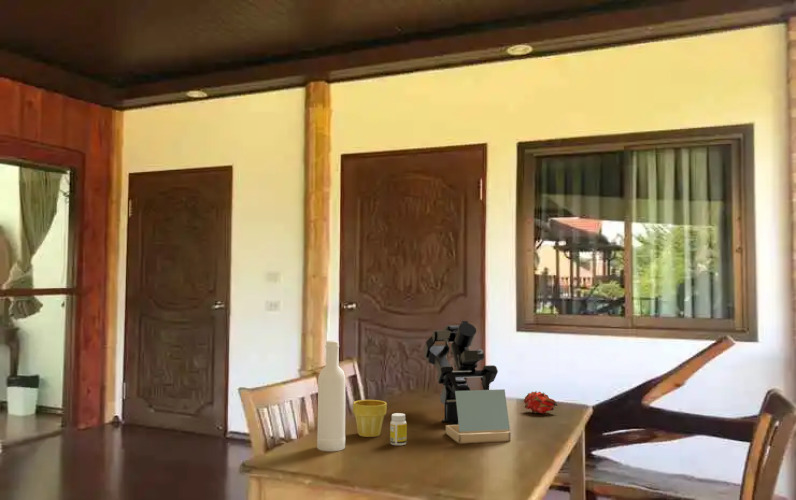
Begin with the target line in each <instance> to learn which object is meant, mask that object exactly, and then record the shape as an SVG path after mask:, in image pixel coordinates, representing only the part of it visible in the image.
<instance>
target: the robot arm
mask: <svg viewBox="0 0 796 500" xmlns="http://www.w3.org/2000/svg"><path fill="white" fill-rule="evenodd" d="M476 334H477V328H476V327H475V326H474V325H473V324H471V323H469V321H468V320H461V323H460V324H459V325H458V324H454V325H453V324H452V325H450V324H447V325H445V327H444V328H443V329H440V330H437V329H436V330H433V331H432V334H431V336H430V337H429V338H428V339H427V340H426V341H425V344H424V349H423V356H424V358H425V360H426V361H427V363H429V364H431V365H433V366H434V367H435V368H436V370H437V376H436V377H437V379H436V380H437V382H438V384H441V385H442V386H443V388H442V390H441V393H440V395H439V396H440V397H439V398H440V403H441V404H443V405H444V412H443V413H444V416H443V417H444V419H441V420H440V421H441V422H443V423H448V424H449V423H450V424H452V425H459V424H458V414H457V404H456V395H455V391H471V388H470V385H468V383H467V380H466V379H467V378H480V380H481V386H482V390H490V385H491V383H493V382H494V381H495V379H496V376H497V375H498V373H499V371H498V368H497V366H496V365H490V364H489V365H483V367H482V369H481V370H479V369H478V370H476V368H478V362H480V361H483V360H484V359H485V353H484V350H483V348H482V349H481V348H479V349H476V350H470V347H471V346H472V344H473V341H474V340H475V336H476ZM436 342H444V343H445V344H436ZM449 343H451V344H450V346H449ZM450 348H451V349H450ZM449 352H450V354H451V355H452V358H453V361H454V366H451V363H450V362H449V360H448V356H449ZM453 367H454V368H456V369H455V370H454V368H453Z"/></svg>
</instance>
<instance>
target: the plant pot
mask: <svg viewBox="0 0 796 500" xmlns="http://www.w3.org/2000/svg"><path fill="white" fill-rule="evenodd" d="M387 405H388V403H387V402H386V401H384V400H379V399H378V400H377V399H359V400H356V401H355V400H354V401H353V404H352V414H353V415H354V417H355V423H356V429H357V433H358V436H360V437H365V438H366V437H367V438H375V437H379V436H380V435H381V431H382V427H383V422H384V418H385V416H386V414H387V408H388V407H387Z"/></svg>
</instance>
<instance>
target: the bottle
mask: <svg viewBox="0 0 796 500" xmlns="http://www.w3.org/2000/svg"><path fill="white" fill-rule="evenodd" d="M339 348H340V342H339V341H338V340H326V341H325V366H324V367H323V368H322V369H321V370H320V372H319V375H318V378H317V384H318V385H317V437H316V439H317V441H316V447H317V449H318V450H319V451H322V452H339V451H342V450H343V451H344V449H345V448H346V384H347V383H346V380H347V379H346V375H345V372H344V369H343V368H341V367H340V366H339V360H340V359H339V358H340V357H339V355H340V353H339V350H340V349H339Z"/></svg>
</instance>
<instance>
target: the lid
mask: <svg viewBox="0 0 796 500" xmlns="http://www.w3.org/2000/svg"><path fill="white" fill-rule="evenodd" d="M455 395H456V404H457V414H458V424H457V425H459V433H460V434H462V433H483V432H503V431H509V432H511V427H510V421H509V411H508V405H507V404H508V403H507V398H506V390H505V389H504V388H503V389H489V390H484V389H480V390H479V389H475V390H471V389H470V391H455Z"/></svg>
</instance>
